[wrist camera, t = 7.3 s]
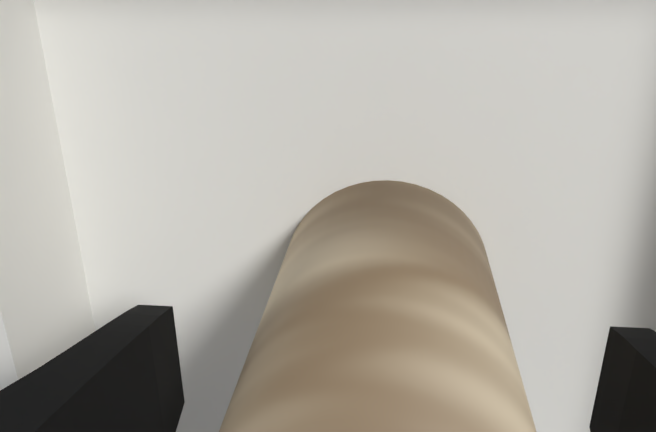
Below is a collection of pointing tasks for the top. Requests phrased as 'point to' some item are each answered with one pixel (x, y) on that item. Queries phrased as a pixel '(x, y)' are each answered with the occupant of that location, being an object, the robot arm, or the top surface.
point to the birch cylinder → (382, 325)
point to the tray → (322, 166)
